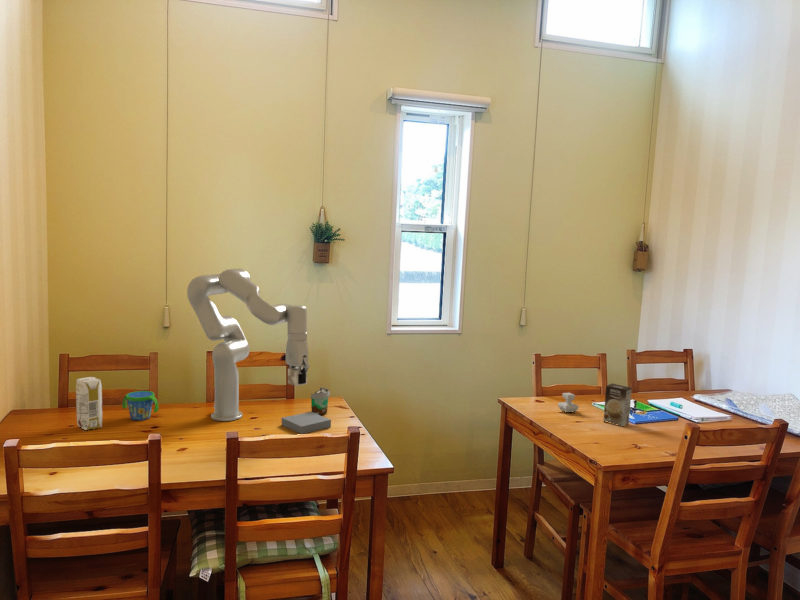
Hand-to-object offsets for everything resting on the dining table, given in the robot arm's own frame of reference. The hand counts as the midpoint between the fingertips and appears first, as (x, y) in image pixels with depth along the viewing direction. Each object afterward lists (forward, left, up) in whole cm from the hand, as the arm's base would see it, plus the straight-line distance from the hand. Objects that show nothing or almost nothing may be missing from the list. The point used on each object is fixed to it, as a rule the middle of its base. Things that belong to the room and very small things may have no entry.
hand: (297, 381), depth 235 cm
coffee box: (+79, +109, -18) cm, 136 cm away
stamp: (+57, +107, -18) cm, 123 cm away
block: (0, 0, -1) cm, 1 cm away
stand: (+2, +3, -18) cm, 19 cm away
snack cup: (-47, -44, -18) cm, 67 cm away
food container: (-8, +18, -18) cm, 27 cm away
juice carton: (-47, -63, -18) cm, 81 cm away
